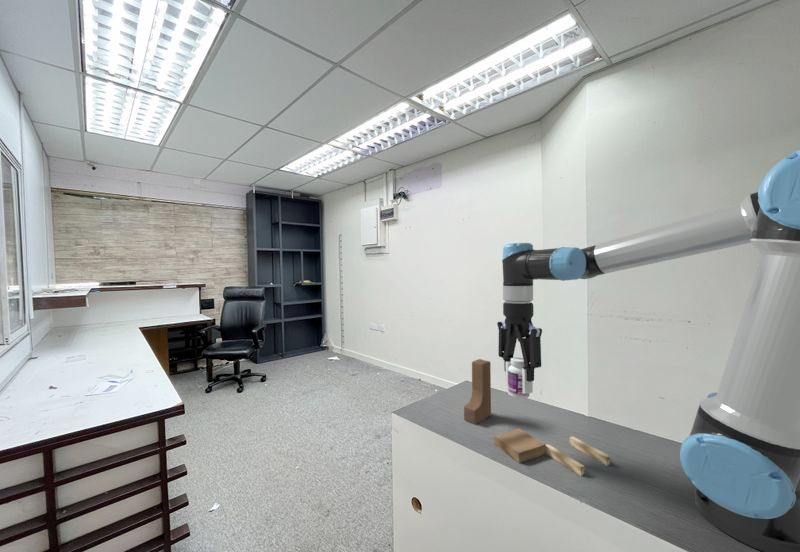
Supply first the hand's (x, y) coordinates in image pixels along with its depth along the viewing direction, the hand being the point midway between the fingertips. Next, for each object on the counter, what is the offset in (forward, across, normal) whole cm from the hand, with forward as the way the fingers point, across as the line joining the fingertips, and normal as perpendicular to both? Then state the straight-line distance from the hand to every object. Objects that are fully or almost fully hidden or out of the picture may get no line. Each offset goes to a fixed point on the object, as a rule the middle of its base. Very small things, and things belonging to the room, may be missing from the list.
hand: (518, 388), depth 82 cm
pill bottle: (+2, 0, 0) cm, 2 cm away
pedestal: (+16, 0, 0) cm, 16 cm away
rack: (+16, -9, -10) cm, 21 cm away
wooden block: (+16, +19, -1) cm, 25 cm away
